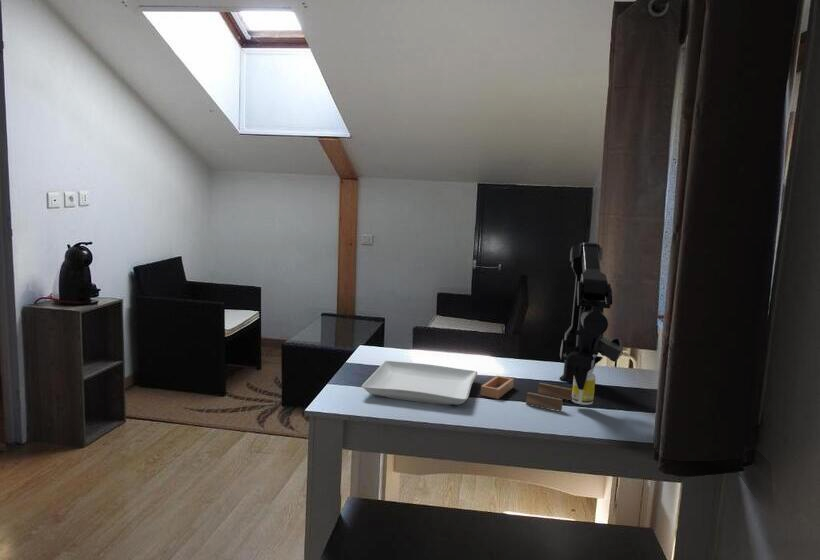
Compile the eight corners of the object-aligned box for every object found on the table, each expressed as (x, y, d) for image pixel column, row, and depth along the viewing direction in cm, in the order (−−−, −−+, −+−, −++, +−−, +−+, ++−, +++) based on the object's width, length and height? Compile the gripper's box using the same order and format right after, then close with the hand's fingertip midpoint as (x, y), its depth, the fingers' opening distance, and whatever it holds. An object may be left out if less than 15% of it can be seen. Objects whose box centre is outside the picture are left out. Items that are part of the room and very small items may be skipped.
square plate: (466, 413, 159) (467, 397, 158) (359, 399, 164) (360, 385, 164) (477, 381, 185) (478, 368, 185) (384, 371, 190) (385, 358, 190)
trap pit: (496, 384, 183) (496, 375, 182) (513, 387, 180) (513, 378, 180) (480, 395, 172) (481, 386, 172) (498, 398, 170) (498, 389, 169)
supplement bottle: (595, 401, 167) (599, 364, 165) (589, 407, 162) (593, 369, 160) (574, 396, 169) (578, 360, 168) (568, 402, 165) (572, 365, 163)
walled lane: (538, 393, 177) (539, 382, 176) (571, 399, 173) (572, 389, 172) (525, 404, 167) (526, 393, 166) (560, 411, 163) (561, 400, 162)
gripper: (615, 339, 151) (608, 403, 153) (629, 325, 167) (622, 383, 169) (568, 331, 156) (562, 393, 158) (585, 319, 172) (580, 375, 175)
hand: (583, 386), depth 165 cm, fingers closed on supplement bottle, 5 cm apart
